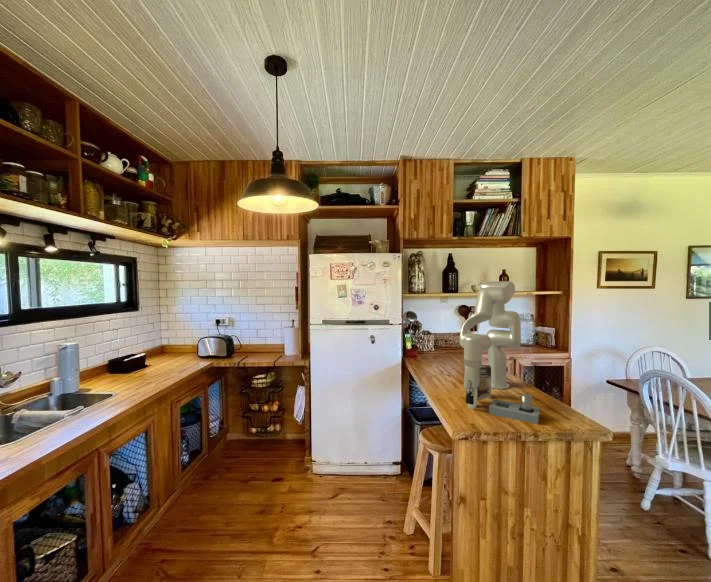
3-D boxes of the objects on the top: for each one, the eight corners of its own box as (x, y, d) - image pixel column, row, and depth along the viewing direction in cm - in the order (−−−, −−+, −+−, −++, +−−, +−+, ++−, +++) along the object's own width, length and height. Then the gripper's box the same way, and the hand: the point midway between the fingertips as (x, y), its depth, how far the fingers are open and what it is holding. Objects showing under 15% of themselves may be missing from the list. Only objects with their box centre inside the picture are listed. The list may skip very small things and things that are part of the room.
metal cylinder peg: (521, 414, 129) (521, 393, 129) (532, 416, 127) (532, 394, 127) (520, 417, 126) (520, 395, 126) (531, 419, 123) (531, 397, 123)
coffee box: (471, 398, 150) (471, 366, 150) (470, 394, 156) (470, 363, 156) (491, 400, 147) (491, 367, 147) (490, 396, 153) (490, 364, 153)
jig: (494, 407, 138) (494, 398, 138) (539, 417, 128) (539, 407, 128) (488, 415, 129) (488, 406, 129) (537, 426, 119) (537, 416, 119)
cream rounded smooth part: (469, 405, 141) (469, 386, 141) (478, 407, 139) (478, 387, 139) (466, 408, 138) (466, 388, 138) (476, 410, 135) (476, 390, 135)
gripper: (469, 358, 147) (469, 393, 147) (458, 366, 133) (458, 404, 133) (485, 360, 143) (485, 396, 143) (476, 368, 129) (476, 408, 129)
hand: (472, 400), depth 138 cm, fingers open, 9 cm apart
